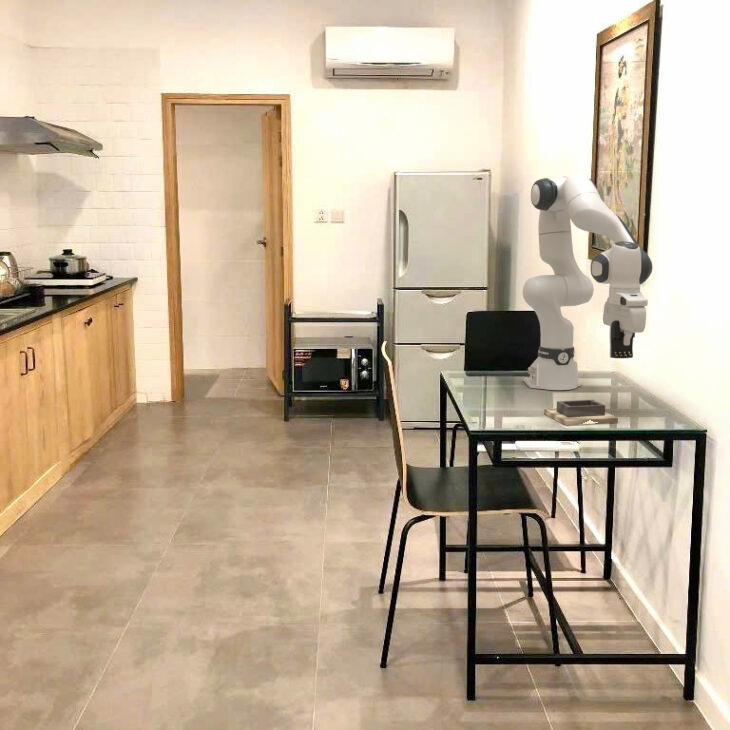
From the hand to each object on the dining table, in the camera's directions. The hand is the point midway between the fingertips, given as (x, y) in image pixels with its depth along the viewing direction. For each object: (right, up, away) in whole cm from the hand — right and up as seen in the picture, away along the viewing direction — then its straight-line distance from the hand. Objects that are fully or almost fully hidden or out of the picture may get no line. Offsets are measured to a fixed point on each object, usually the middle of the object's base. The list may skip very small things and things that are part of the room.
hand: (622, 343), depth 269 cm
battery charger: (0, -5, 0) cm, 5 cm away
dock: (-13, -22, -2) cm, 26 cm away
